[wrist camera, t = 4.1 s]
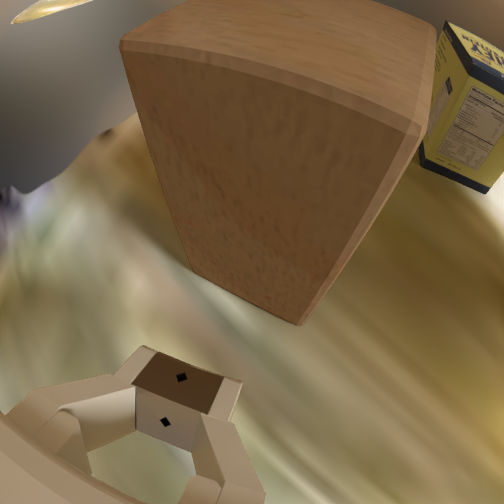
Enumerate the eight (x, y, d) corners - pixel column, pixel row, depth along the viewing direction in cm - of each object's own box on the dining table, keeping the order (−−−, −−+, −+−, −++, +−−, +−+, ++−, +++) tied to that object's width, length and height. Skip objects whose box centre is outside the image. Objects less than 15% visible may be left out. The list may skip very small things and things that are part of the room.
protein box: (468, 125, 38) (507, 51, 25) (486, 196, 31) (550, 111, 18) (412, 100, 40) (444, 17, 26) (419, 167, 33) (474, 62, 19)
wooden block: (300, 329, 24) (432, 128, 6) (190, 272, 26) (110, 37, 8) (346, 231, 28) (439, 26, 10) (249, 186, 30) (252, -28, 12)
